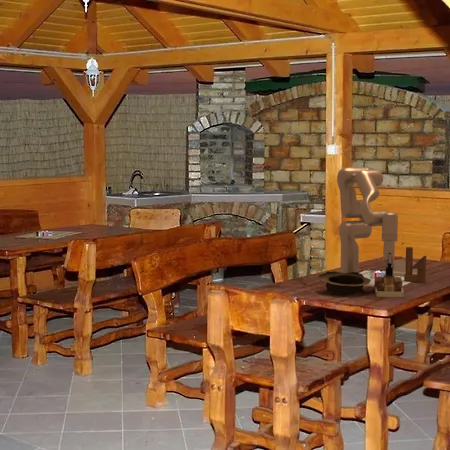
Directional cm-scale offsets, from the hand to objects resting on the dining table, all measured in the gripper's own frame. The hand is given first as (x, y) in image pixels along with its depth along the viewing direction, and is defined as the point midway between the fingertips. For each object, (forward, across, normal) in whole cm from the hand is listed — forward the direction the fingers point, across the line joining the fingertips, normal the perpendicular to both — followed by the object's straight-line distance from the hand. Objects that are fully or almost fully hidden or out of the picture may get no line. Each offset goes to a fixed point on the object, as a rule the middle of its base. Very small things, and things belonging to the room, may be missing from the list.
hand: (388, 274), depth 404 cm
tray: (+9, +6, 0) cm, 11 cm away
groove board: (+9, -6, 0) cm, 11 cm away
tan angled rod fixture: (+9, -33, +15) cm, 37 cm away
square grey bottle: (+4, 0, 0) cm, 4 cm away
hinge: (+9, -52, +11) cm, 54 cm away
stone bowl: (+9, +2, -21) cm, 23 cm away
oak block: (+7, +3, 0) cm, 8 cm away
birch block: (+6, +5, 0) cm, 8 cm away
